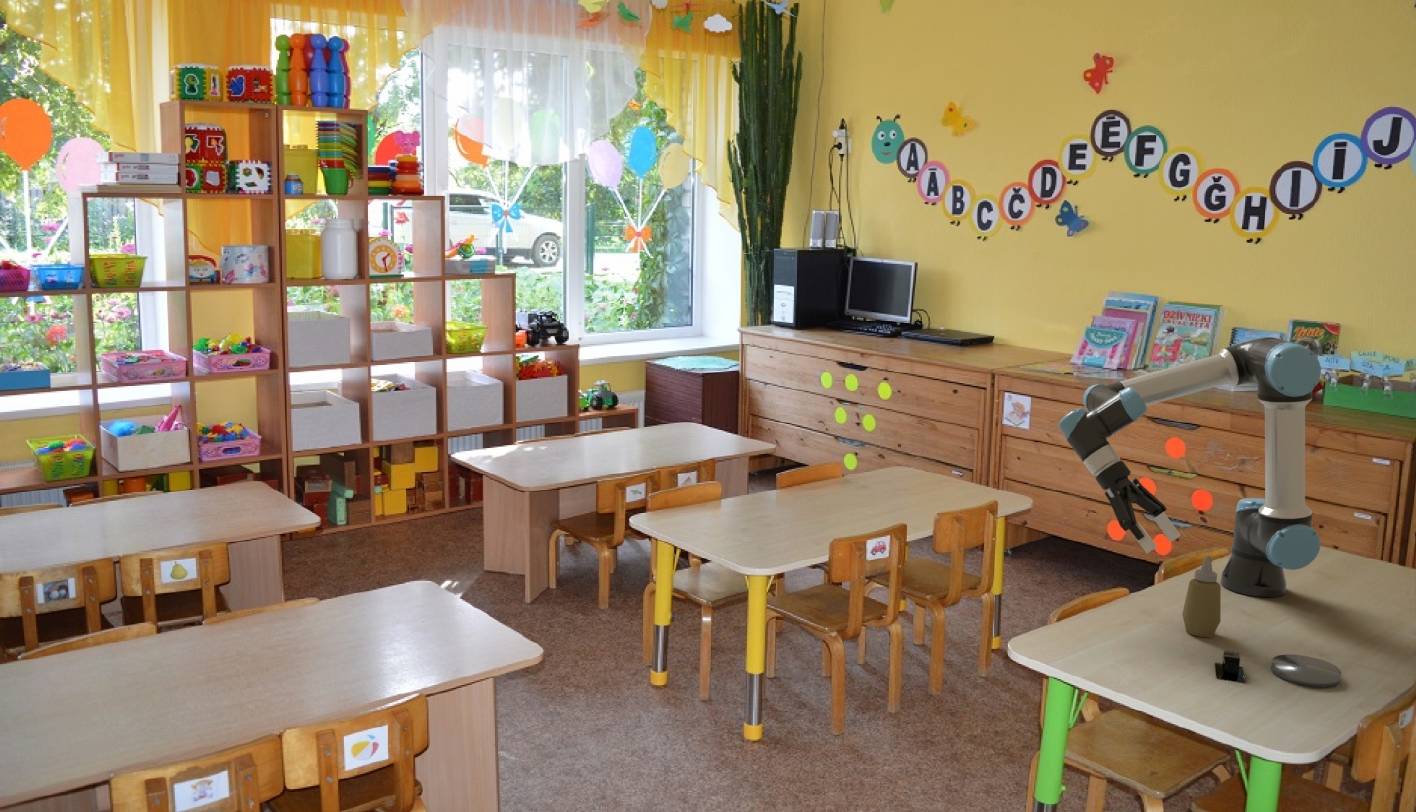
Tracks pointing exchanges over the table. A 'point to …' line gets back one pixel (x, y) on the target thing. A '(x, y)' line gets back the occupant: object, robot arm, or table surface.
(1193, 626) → the squeeze bottle
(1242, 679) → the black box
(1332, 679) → the cap
